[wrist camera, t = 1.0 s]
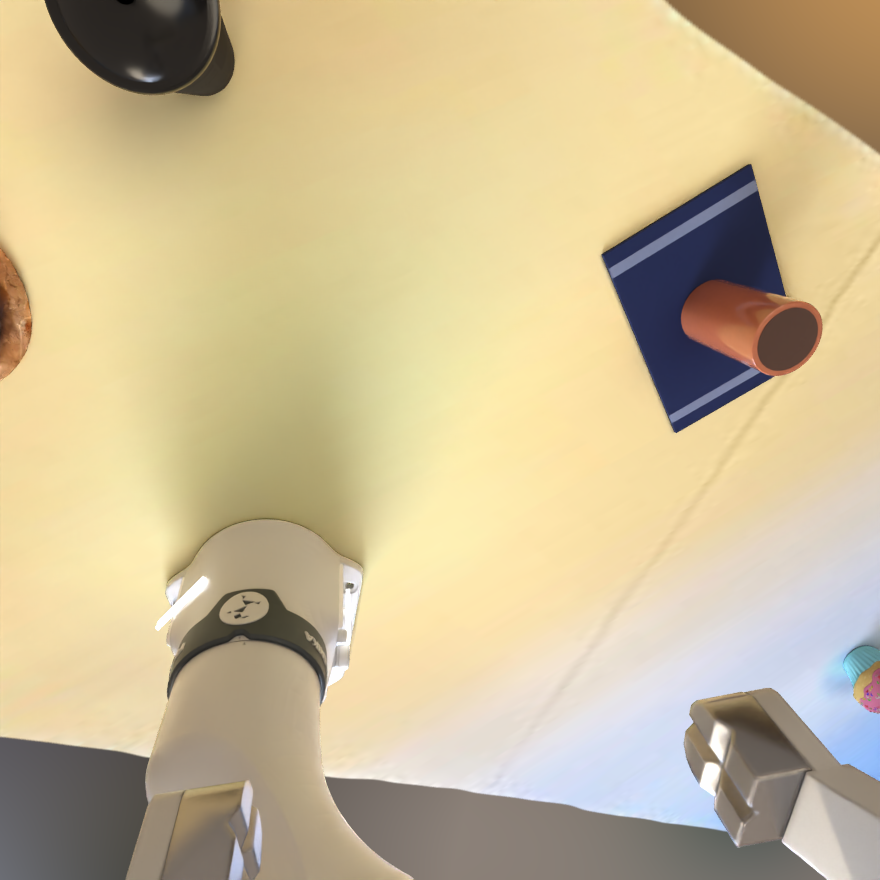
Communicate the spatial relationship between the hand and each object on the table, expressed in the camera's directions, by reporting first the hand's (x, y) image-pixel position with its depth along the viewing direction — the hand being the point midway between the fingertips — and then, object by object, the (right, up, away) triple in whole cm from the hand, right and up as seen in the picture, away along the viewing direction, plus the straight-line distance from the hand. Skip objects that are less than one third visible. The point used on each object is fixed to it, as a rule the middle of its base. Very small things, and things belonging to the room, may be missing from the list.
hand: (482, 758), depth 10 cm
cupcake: (+57, -24, +68) cm, 92 cm away
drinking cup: (-17, +32, +28) cm, 46 cm away
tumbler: (+24, +18, +42) cm, 51 cm away
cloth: (+24, +18, +42) cm, 52 cm away
